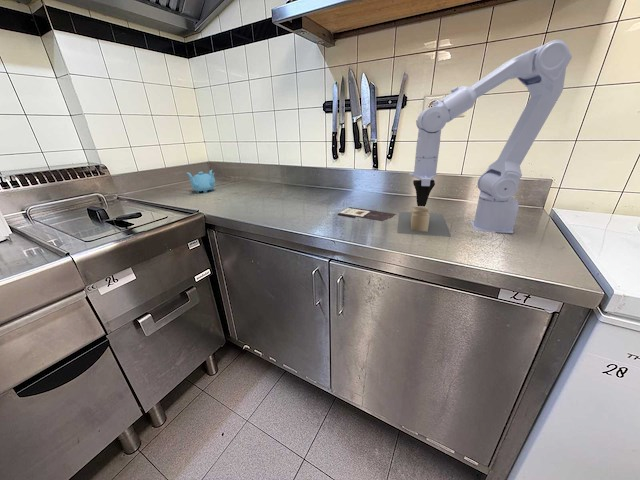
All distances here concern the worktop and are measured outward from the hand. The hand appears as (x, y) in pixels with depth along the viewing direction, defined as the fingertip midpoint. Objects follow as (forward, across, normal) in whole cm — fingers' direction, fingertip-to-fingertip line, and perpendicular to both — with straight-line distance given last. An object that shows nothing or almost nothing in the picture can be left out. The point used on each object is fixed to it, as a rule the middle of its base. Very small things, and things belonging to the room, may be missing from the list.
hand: (421, 205), depth 77 cm
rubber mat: (+7, -4, +1) cm, 8 cm away
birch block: (+4, -5, 0) cm, 7 cm away
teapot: (+7, -35, -105) cm, 111 cm away
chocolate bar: (+8, -9, -17) cm, 21 cm away
